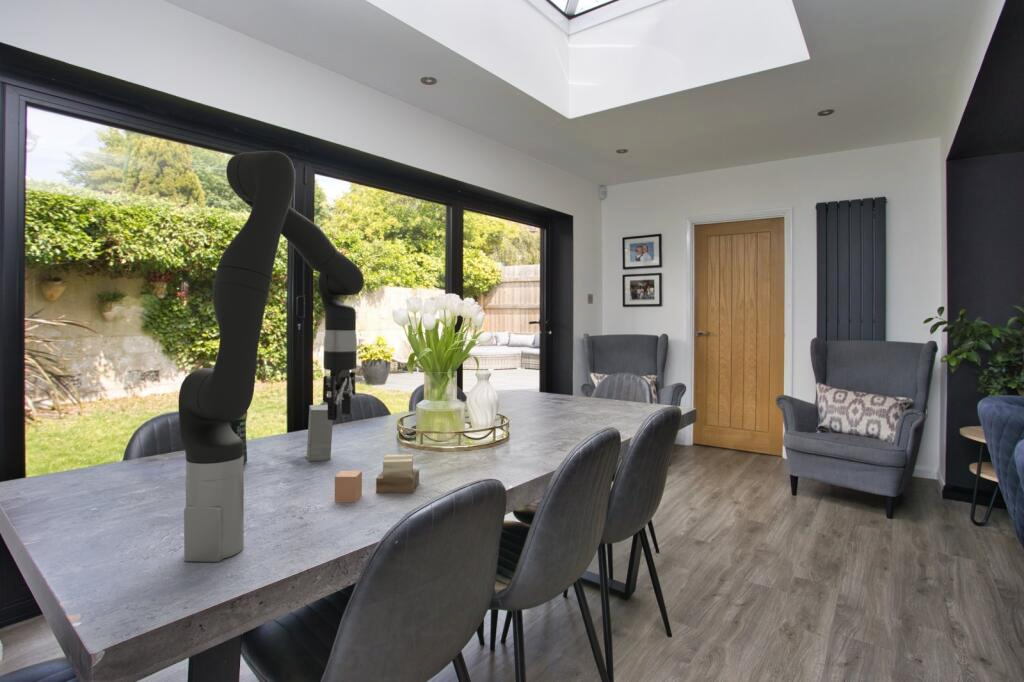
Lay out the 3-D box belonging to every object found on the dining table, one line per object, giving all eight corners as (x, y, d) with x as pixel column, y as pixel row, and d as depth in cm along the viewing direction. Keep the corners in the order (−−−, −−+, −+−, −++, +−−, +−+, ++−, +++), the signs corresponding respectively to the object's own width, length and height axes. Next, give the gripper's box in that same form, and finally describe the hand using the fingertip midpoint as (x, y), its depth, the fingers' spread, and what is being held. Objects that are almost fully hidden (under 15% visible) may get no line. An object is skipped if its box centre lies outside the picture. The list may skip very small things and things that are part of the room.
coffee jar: (232, 471, 153) (232, 404, 152) (205, 469, 154) (205, 403, 153) (252, 462, 163) (252, 399, 162) (227, 461, 164) (227, 398, 163)
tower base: (412, 495, 136) (412, 478, 136) (376, 494, 136) (376, 478, 136) (419, 484, 145) (419, 469, 145) (384, 483, 145) (384, 468, 145)
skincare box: (306, 455, 172) (306, 405, 171) (330, 453, 175) (330, 403, 174) (308, 462, 164) (308, 409, 163) (333, 459, 167) (333, 407, 166)
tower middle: (411, 477, 137) (411, 461, 137) (382, 477, 136) (383, 461, 136) (413, 469, 144) (413, 454, 144) (385, 470, 143) (385, 454, 143)
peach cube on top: (356, 502, 129) (356, 476, 129) (334, 501, 129) (334, 476, 129) (361, 495, 134) (361, 471, 134) (341, 495, 134) (341, 470, 134)
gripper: (344, 351, 125) (343, 422, 125) (365, 348, 139) (365, 412, 139) (312, 350, 125) (311, 421, 126) (336, 347, 139) (336, 411, 140)
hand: (339, 416), depth 133 cm, fingers open, 8 cm apart
